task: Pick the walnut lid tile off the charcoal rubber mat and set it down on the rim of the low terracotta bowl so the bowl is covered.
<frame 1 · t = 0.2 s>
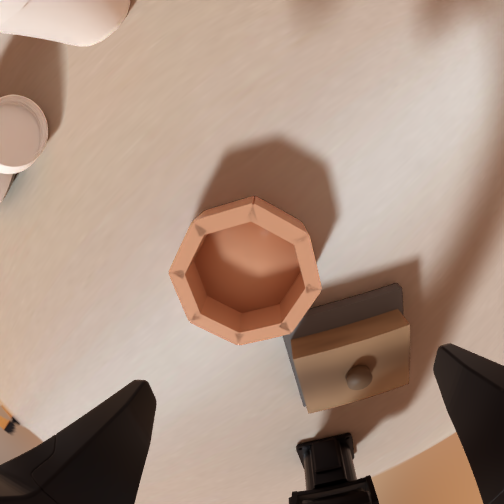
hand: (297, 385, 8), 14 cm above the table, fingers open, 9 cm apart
lid: (350, 355, 23), point 1 cm above the table, touching mat
mat: (347, 348, 24), on the table
bowl: (247, 262, 21), on the table
foam cup: (98, 16, 16), on the table
spread jar: (11, 147, 19), on the table
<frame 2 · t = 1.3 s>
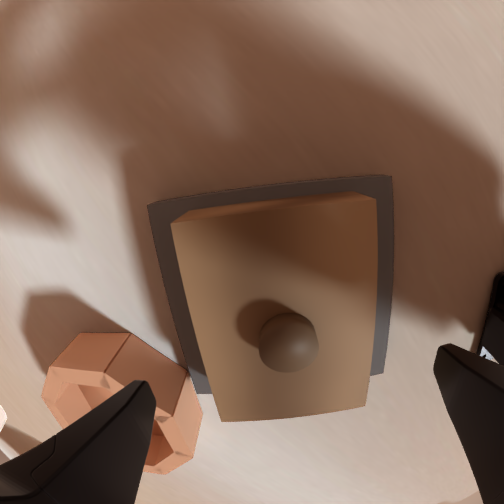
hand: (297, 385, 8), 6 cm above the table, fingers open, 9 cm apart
lid: (283, 305, 12), point 1 cm above the table, touching mat
mat: (282, 295, 13), on the table
bowl: (129, 391, 16), on the table
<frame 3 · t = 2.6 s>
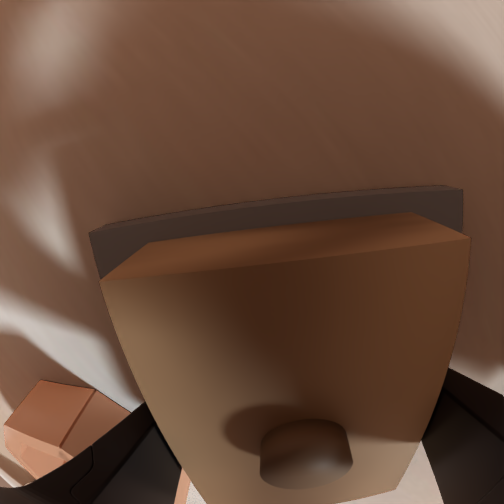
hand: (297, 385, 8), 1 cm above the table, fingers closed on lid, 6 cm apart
lid: (296, 377, 8), point 1 cm above the table, touching gripper, mat
mat: (293, 357, 9), on the table
bowl: (104, 445, 11), on the table
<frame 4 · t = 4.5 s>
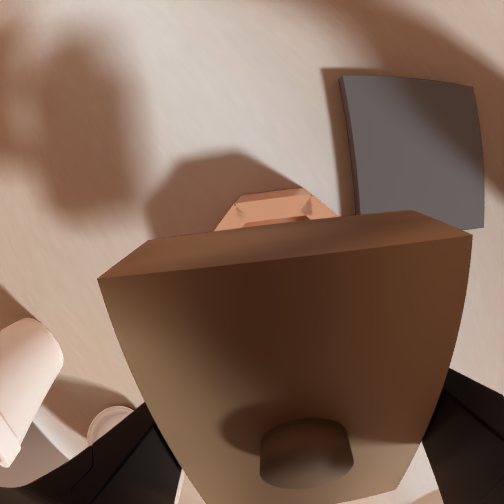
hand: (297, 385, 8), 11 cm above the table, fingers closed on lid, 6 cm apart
lid: (296, 377, 8), point 11 cm above the table, touching gripper
mat: (421, 155, 16), on the table
bowl: (280, 263, 18), on the table
foam cup: (41, 343, 23), on the table
spread jar: (139, 437, 26), on the table
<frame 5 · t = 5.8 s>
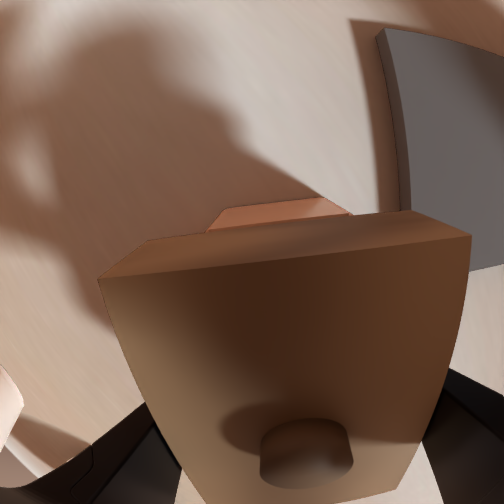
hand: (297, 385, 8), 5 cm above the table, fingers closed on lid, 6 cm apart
lid: (296, 377, 8), point 4 cm above the table, touching gripper
mat: (484, 155, 10), on the table
bowl: (286, 311, 12), on the table
when the fingers open (4 cm above the table, at t = 6.6 s): lid stays where it is, resting on bowl.
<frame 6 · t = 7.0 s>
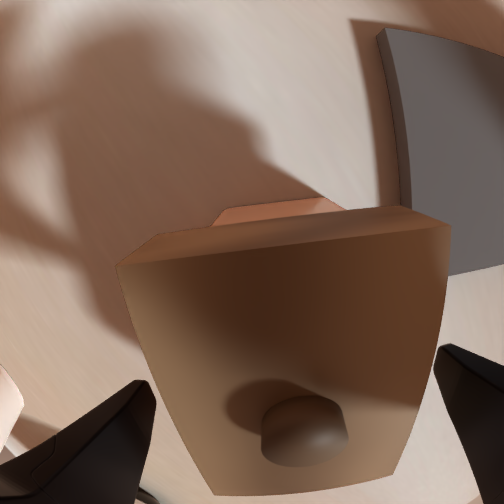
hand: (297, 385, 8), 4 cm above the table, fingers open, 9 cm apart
lid: (295, 362, 9), point 3 cm above the table, touching bowl
mat: (485, 155, 9), on the table
bowl: (286, 311, 12), on the table
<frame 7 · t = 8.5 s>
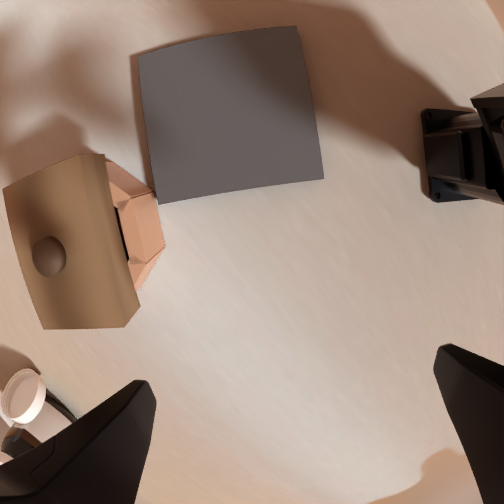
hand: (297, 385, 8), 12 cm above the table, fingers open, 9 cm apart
lid: (76, 242, 15), point 3 cm above the table, touching bowl
mat: (227, 110, 16), on the table
bowl: (103, 230, 19), on the table
spread jar: (51, 403, 25), on the table
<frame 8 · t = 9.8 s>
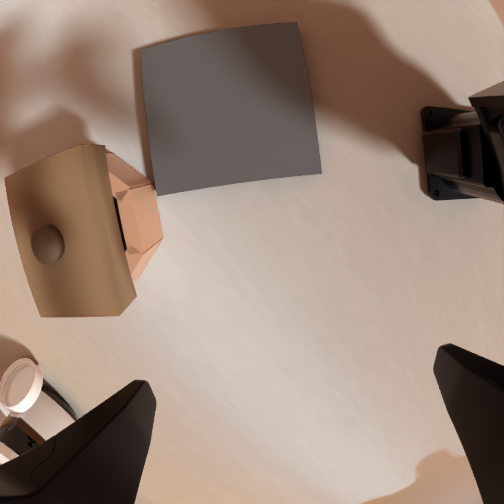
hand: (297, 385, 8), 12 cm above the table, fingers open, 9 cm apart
lid: (75, 231, 16), point 3 cm above the table, touching bowl
mat: (227, 104, 16), on the table
bowl: (102, 221, 19), on the table
spread jar: (47, 393, 26), on the table
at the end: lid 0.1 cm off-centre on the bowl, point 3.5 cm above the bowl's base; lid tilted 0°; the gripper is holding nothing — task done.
